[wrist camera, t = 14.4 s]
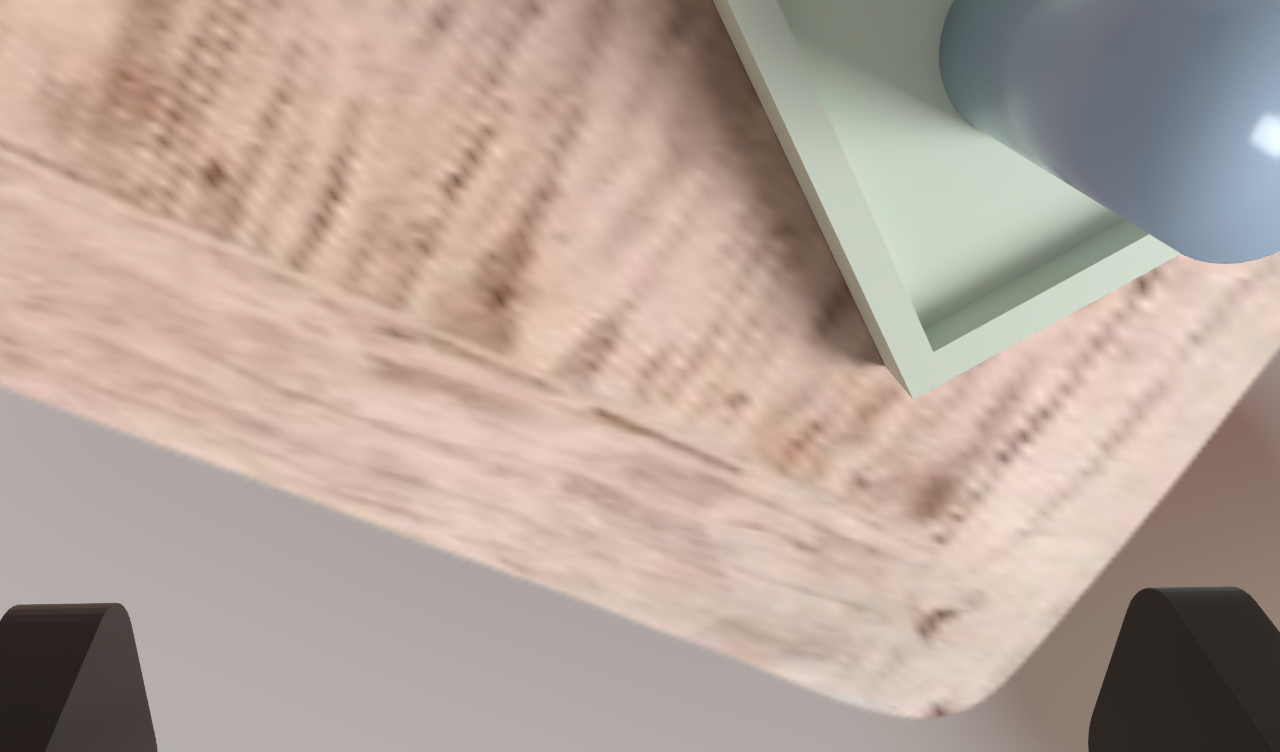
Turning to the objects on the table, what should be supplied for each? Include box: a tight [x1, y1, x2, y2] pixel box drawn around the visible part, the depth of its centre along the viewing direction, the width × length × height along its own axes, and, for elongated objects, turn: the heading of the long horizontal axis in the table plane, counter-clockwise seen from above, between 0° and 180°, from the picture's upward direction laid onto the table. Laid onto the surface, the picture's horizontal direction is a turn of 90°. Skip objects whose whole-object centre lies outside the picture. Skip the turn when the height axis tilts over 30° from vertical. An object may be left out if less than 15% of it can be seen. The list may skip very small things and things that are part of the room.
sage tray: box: [713, 0, 1181, 399], centre depth 36 cm, size 16×16×2 cm
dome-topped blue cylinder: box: [939, 0, 1280, 264], centre depth 31 cm, size 6×6×11 cm
